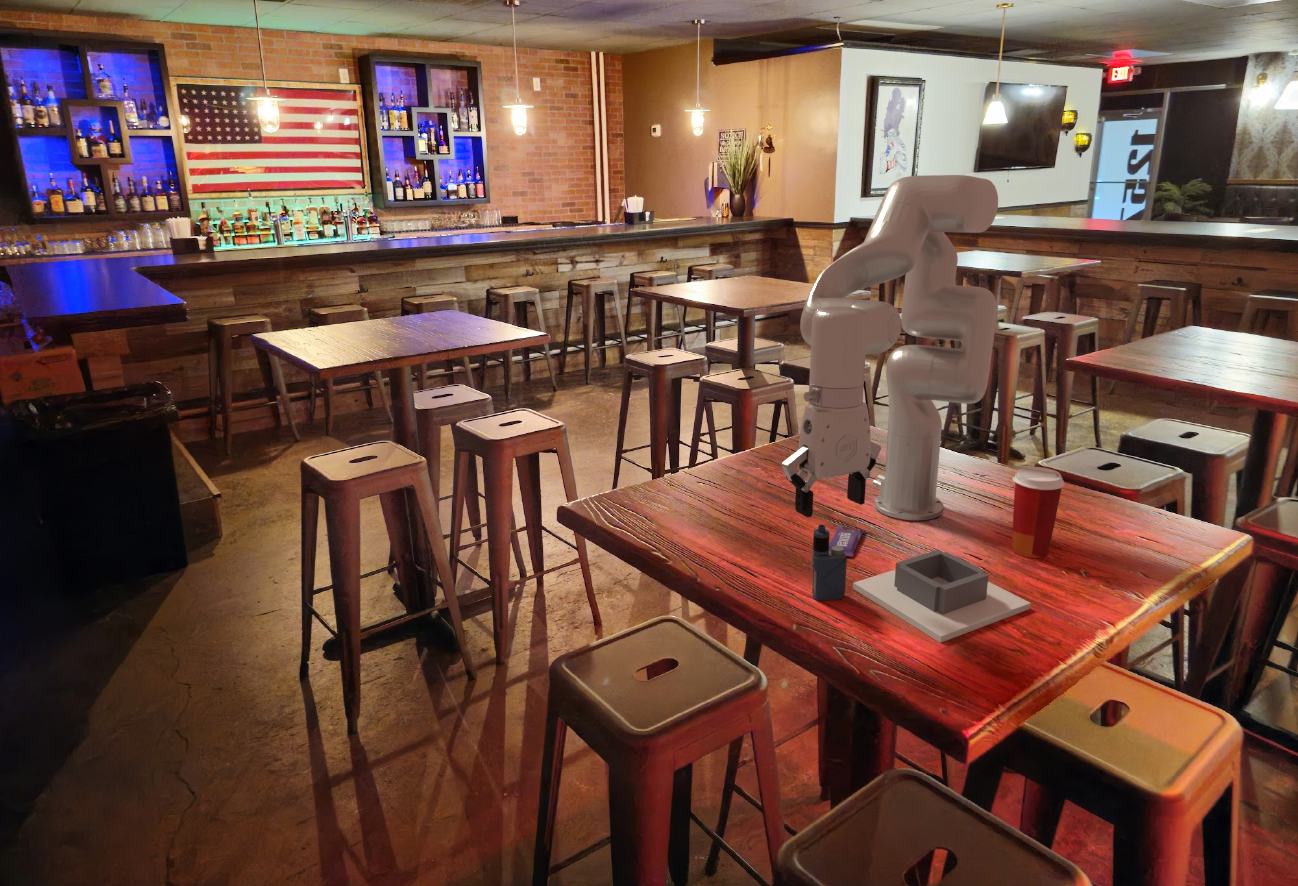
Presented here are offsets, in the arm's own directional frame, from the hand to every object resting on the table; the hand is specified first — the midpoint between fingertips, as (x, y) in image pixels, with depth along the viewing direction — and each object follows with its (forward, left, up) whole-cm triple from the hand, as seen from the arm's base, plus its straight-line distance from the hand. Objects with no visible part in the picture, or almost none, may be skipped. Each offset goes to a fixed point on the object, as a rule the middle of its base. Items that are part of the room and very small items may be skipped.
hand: (830, 507), depth 122 cm
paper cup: (+5, +40, -15) cm, 43 cm away
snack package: (-14, +15, -16) cm, 26 cm away
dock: (+9, +15, -15) cm, 23 cm away
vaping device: (0, +1, -15) cm, 15 cm away
